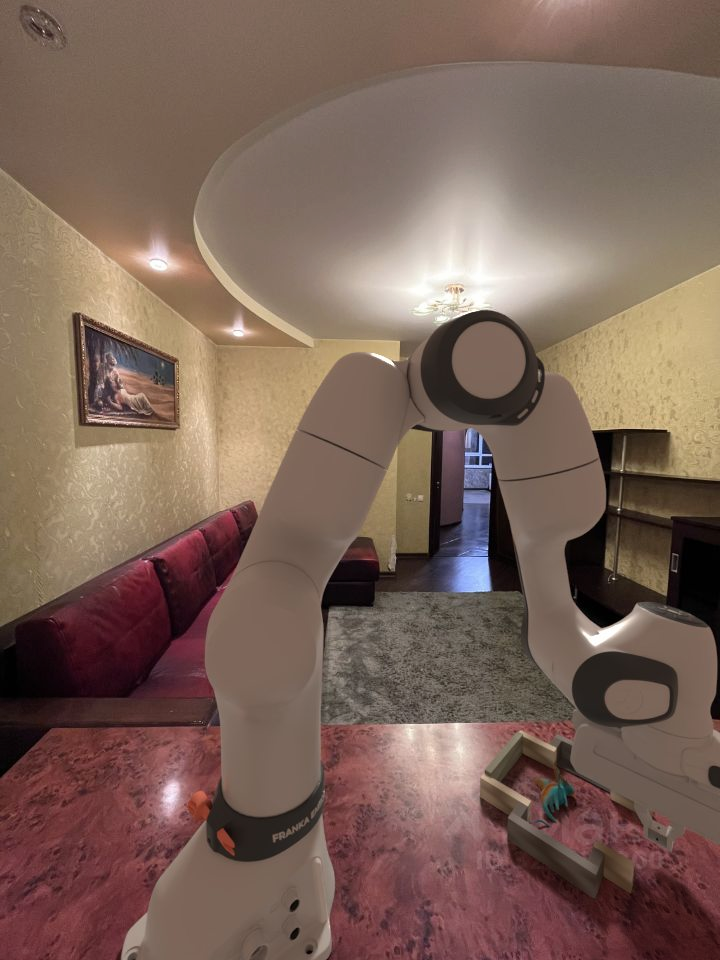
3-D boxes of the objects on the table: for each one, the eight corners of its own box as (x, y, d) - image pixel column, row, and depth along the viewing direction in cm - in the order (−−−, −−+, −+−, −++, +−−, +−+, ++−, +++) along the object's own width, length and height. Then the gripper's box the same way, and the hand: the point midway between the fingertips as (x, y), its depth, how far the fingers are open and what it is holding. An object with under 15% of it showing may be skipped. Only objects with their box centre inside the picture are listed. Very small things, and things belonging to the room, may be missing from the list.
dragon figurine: (599, 838, 53) (584, 772, 60) (546, 815, 54) (537, 752, 60) (571, 855, 56) (560, 791, 63) (521, 833, 57) (516, 772, 64)
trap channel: (657, 799, 60) (658, 777, 60) (623, 919, 44) (625, 889, 44) (528, 736, 73) (528, 717, 73) (467, 811, 58) (468, 788, 57)
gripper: (565, 709, 55) (561, 805, 56) (783, 801, 41) (772, 928, 42) (580, 690, 59) (576, 779, 60) (780, 766, 45) (771, 882, 46)
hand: (657, 841), depth 51 cm, fingers closed
